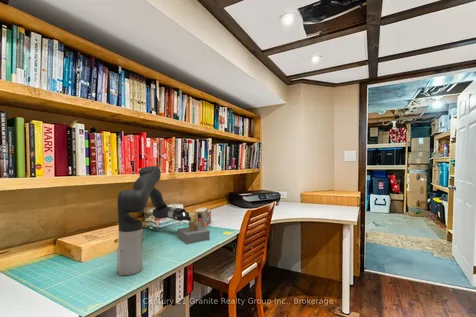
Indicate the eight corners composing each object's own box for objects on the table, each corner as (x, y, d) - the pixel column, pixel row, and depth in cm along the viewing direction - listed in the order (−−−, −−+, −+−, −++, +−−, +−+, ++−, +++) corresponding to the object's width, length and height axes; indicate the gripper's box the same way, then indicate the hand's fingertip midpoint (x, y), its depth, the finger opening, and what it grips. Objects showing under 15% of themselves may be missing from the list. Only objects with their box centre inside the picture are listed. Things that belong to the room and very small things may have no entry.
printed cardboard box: (202, 222, 183) (203, 205, 183) (211, 222, 182) (211, 205, 182) (193, 230, 162) (194, 211, 162) (203, 230, 161) (203, 211, 161)
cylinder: (190, 231, 140) (191, 214, 141) (187, 229, 145) (187, 212, 145) (198, 230, 143) (199, 213, 143) (195, 228, 147) (195, 211, 147)
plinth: (186, 244, 134) (186, 235, 134) (177, 237, 146) (177, 229, 146) (209, 239, 142) (209, 230, 142) (199, 233, 154) (199, 225, 154)
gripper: (167, 209, 147) (186, 213, 137) (185, 206, 158) (204, 209, 149) (167, 222, 146) (186, 226, 137) (185, 217, 158) (204, 221, 149)
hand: (195, 217), depth 143 cm, fingers open, 8 cm apart
